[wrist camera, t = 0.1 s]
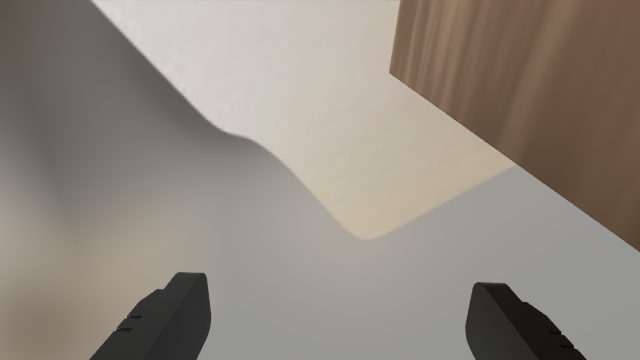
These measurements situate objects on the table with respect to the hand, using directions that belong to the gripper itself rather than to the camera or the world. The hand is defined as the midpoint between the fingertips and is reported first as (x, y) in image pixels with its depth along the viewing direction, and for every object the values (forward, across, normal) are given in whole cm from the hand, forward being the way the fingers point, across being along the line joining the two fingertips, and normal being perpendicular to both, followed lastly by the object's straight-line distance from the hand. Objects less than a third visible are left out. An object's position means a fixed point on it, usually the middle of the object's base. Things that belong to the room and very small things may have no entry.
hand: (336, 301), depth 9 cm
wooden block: (+21, -12, -12) cm, 27 cm away
